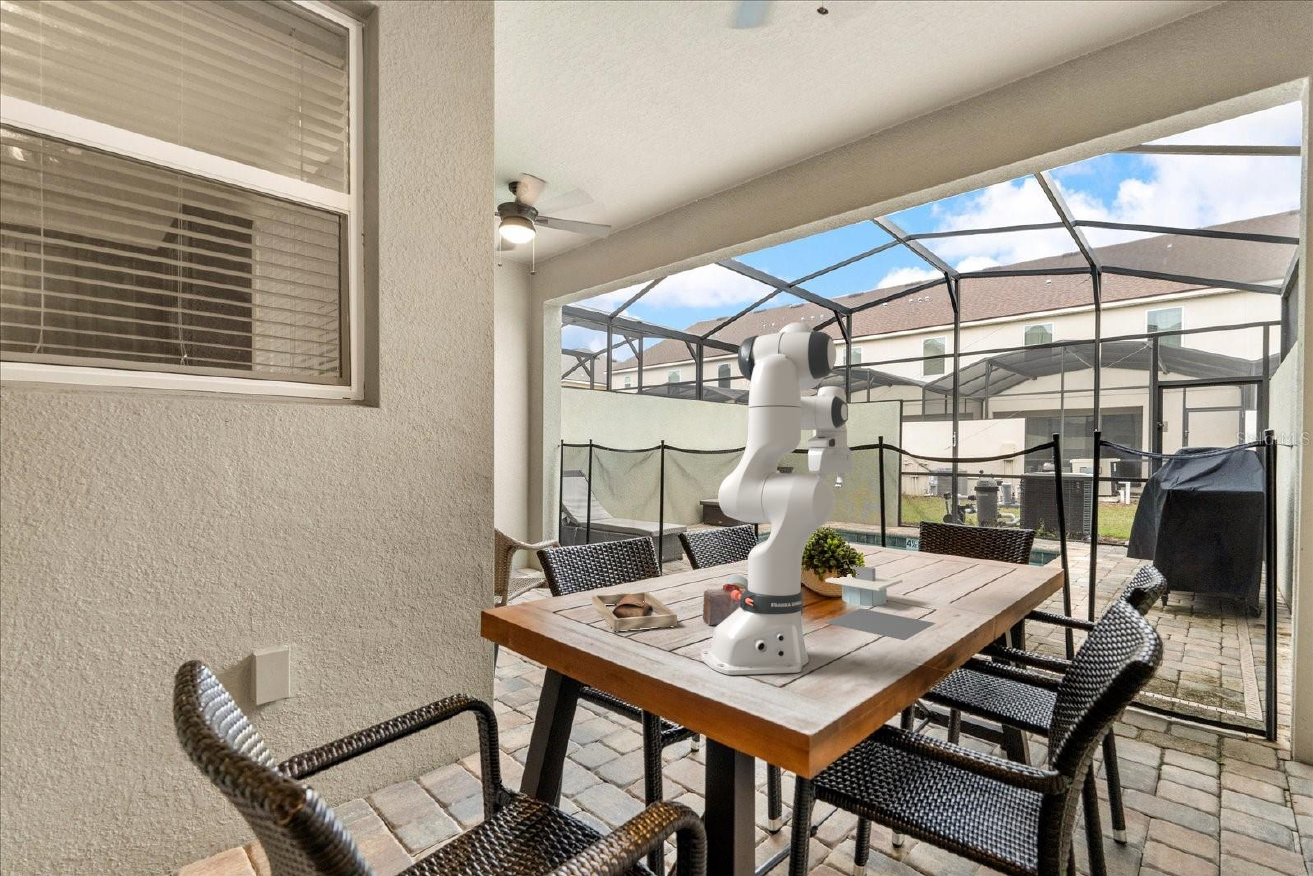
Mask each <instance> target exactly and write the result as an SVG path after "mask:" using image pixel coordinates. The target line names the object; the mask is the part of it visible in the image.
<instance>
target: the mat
mask: <svg viewBox="0 0 1313 876" xmlns="http://www.w3.org/2000/svg"><path fill="white" fill-rule="evenodd" d="M824 623H825V624H828V625H831V626H837V627H843V628H845V629H846V628H847V629H851V630H854V631H859V632H865V633H869V634H874V635H879V636H882V637H888V638H892V639H896V640H899V641H900V640H901V641H906V640H908V639H910V638H911V637H913V636H915V635H917V634H918V633H920V632H922V631H924V630H926V629H927V628H929V627H931V626H933V625H935V624H936V622H932V621H927V620H922V619H916V618H912V617H907V616H903V615H902V616H901V615H896V614H890V613H886V612H880V611H875V610H871V609H865V608H858V609H856V610H852V611H851V612H848V613H845V614H843V615H840V616H839V617H834V618H833V619H830V620H828V621H825V622H824Z"/></svg>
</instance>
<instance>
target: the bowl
mask: <svg viewBox="0 0 1313 876" xmlns="http://www.w3.org/2000/svg"><path fill="white" fill-rule="evenodd" d="M887 589H888V588H885V589H883V590H880V591H877V590H871V589H865V588H859V587H853V586H847V585H841V596H842V597H841V599H842V601H843V602H844V603H848V604H850V605H851V604H852V605H857V606H863V607H876V606H877V607H879V606H880V607H881V606H884V605H886V604H887V601H888V600H887V597H888V596H887V595H888V594H887V591H888V590H887Z"/></svg>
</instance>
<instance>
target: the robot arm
mask: <svg viewBox="0 0 1313 876" xmlns="http://www.w3.org/2000/svg"><path fill="white" fill-rule="evenodd" d="M836 362H837V349H836V345H835V343H834V340H833V338H832V336H831V335H829V334H828V333H826V332H824V331H819V330H814V329H813V328H812V327H811V326H810V325H808V324H806V323H804V322H797V321H796V322H795V321H794V322H791V323H788V324H787V325H784V327H782V328H781V329H780V330H779V332H775V333H774V332H773V333H769V334H764V335H757V334H756V335H753V336H750V337H747V338H745V339H743V341H741V343H740V345H739V348H738V351H737V365H738V369H739V371H740V373H741V375H742V376H743V377H744V378H745V379H746V380H747V381H749V382H750V384H749V394H748V417H747V418H748V421H747V423H748V424H747V438H746V445H745V449H744V453H743V455H742V457H741V460H740V461H739V463H738V464H737V466H736V467H735V469H734V470H733V471H732V472H731V473H729V474H728V475H727V476H726V477H725V478H724V479H723V481H722V482H721V484H720V487H719V488H718V489H719V490H718V494H717V496H718V497H717V499H718V500H717V501H718V504H719V507H720V509H721V511H722V513H723V514H724V516H727V517H728V518H730V519H731V518H732V519H734V520H737V521H740V522H742V523H743V522H744V523H751V524H764V525H771V529H770V533H769V536H768V538H767V539H766V540H764V541H762V542H760V543H758V544H755V546H753V547H752V548H751V549H750V552H749V553H748V556H747V580H748V588H747V589H746V591H745V592H744V593H743V594H742V593H741V592H739V591H737V590H734V591H732V593H731V597H732V598H733V599H734V600H736V601H740V607H739V608H738V609H737V610H736V611H734V612H733V613H732V614H731V615H730V616H729V617H727V618H726V619H725V620H724V621H722V622H721V623H720V624H719V625H715V628H714V630H713V634H712V637H711V638H712V639H711V645H710V647H705V648H702V650H701V652H700V658H701V660H702V661H703V662H704V663H705V664H706V665H707V666H708V667H710V669H712V670H714V671H717V672H718V673H721V674H725V675H728V676H733V675H734V676H737V675H739V676H740V675H743V676H744V675H764V674H792V673H800V672H801V671H802V670H803V669H802V668H803V666H806V665H807V663H809V656H808V652H807V648H806V643H805V638H804V631H803V621H802V619H803V618H802V616H803V612H804V600H803V599H804V597H803V594H804V593H803V591H802V590H801V587H802V586H801V583H802V582H801V577H802V576H801V575H802V561H803V555H804V551H805V549H806V545H807V544H808V541H809V540H810V538H811V536H812V535H813V534H814V533H815V532H816V530H818V529H819V528H821V526H823V525H825V524H826V523H827V522H828V521H829V520H830V519H831V517H832V515H833V513H834V511H835V507H836V506H835V505H836V498H835V497H836V496H835V492H834V490H833V488H832V486H831V485H830V483H829V482H828V481H827V479H826V478H827V474H836V477H837V478H836V482H835V481H834V484H835V486H834V488H835V489H843V488H844V481H845V479H846V474H847V473H848V474H849V473H852V471H853V457H852V450H851V449H850V448H849V445H848V429H847V425H846V423H847V421H848V420H849V406H848V404H847V397H846V391H845V389H844V388H842V387H841V386H836V385H826V386H825V385H824V386H822V387H820V388H819V389H818V391H817V394H816V395H810V396H809V395H808V396H805V395H804V396H801V392H803V391H809V390H812V389H814V388H816V387H817V386H818V385H819V384H821V383H822V382H823V380H824V379H825V378H826V377H828V376H829V375H830V374H831V373H832V372H833V370H834V367H835V364H836ZM812 430H814V431H815V435H814V436H813V437H811V438H810V439H808V440H807V448H809V449H808V453H807V454H808V455H807V463H808V465H807V466H808V470H809V472H810V474H804V473H787V472H784V473H780V472H777V471H778V470H777V469H778V466H779V464H780V461H781V460H782V459H783V458H784V457H786V456H788V455H789V454H791V453H792V452H794V451H795V450H796V449H797V448H798V446H799V445H800V443H801V441H802V438H801V436H802V431H812ZM811 474H815V475H816V476H814V475H811Z"/></svg>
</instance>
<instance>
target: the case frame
mask: <svg viewBox="0 0 1313 876" xmlns="http://www.w3.org/2000/svg"><path fill="white" fill-rule="evenodd" d="M626 594H631V595H633V596H634V597H635V598H637V599H639V600H641V601H644V602H646V603H648V604H650V605H651V608H652V609H654V610H655V611H656V612H657V613H658V614H660V615H658V614H657V615H647V616H646V615H645V616H643V617H630V618H617V617H616V616H615V615H614V614H613V613H612V612H613V611H612V610H610V609H609V608H608V606H605V605H604V604H618V603H619V602H620V601H621V600H622V599H623V598H624V597H625V596H626ZM591 596H592V597H591V598H592V599H591V601H592V602H591V603H592V604H591V606H592V605H593V606H594V608H595V609H596V610H597V611H598V612H597V611H596V610H595V609H594V608H593V609H594V610H595V611H596V612H597V614H598V613H599V614H601V616H602V617H603V618H604V619H605V621H606V622H607V623H608V624H609V625H610V627H612V629H613V630H614V631H621V630H631V629H640V628H651V627H671V626H677V627H678V614H676V613H675V612H674V611H673V610H671V609H670V608H668V607H667V606H666V605H664V603H662V602H661V601H659V600H658V599H657V598H655V597H654V596H653V595H652V594H651V593H649V592H648V591H643V592H642V591H641V592H625V593H611V594H610V593H609V594H593V595H591ZM652 609H651V610H652ZM599 614H598V615H599ZM601 616H600V617H601ZM602 617H601V618H602ZM603 618H602V619H603ZM605 621H604V622H605ZM606 622H605V623H606ZM607 623H606V624H607ZM608 624H607V625H608ZM610 627H609V628H610ZM612 629H611V630H612ZM613 630H612V631H613Z"/></svg>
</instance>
